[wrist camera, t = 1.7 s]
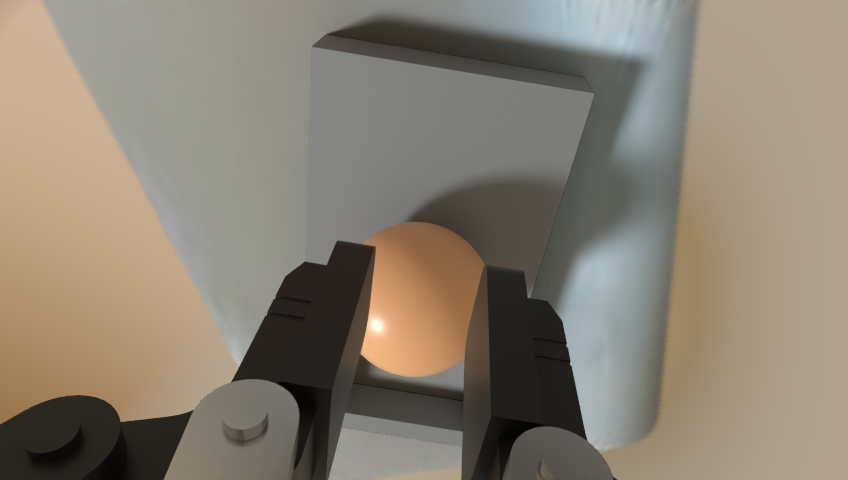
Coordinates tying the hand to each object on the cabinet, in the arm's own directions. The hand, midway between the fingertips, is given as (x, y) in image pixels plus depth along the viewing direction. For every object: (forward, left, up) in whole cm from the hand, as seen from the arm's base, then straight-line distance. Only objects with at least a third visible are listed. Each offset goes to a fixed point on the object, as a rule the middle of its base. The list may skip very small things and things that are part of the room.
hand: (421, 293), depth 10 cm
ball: (+9, 0, -11) cm, 14 cm away
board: (+12, 0, -17) cm, 21 cm away
